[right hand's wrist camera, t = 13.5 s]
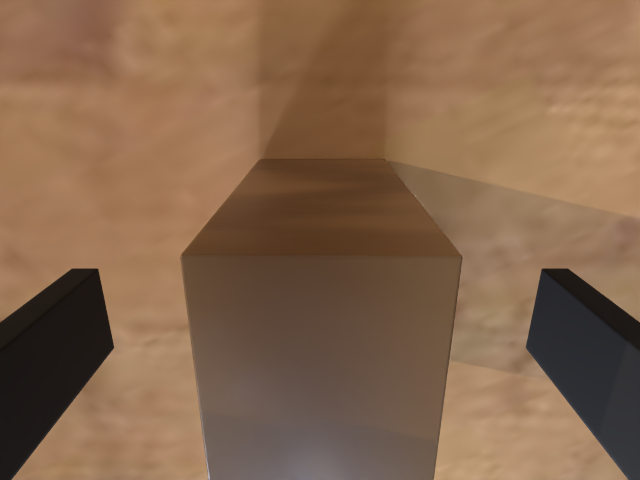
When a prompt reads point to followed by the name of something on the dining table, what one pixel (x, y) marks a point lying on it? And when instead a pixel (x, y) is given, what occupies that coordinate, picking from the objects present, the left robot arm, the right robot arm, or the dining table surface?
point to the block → (321, 325)
